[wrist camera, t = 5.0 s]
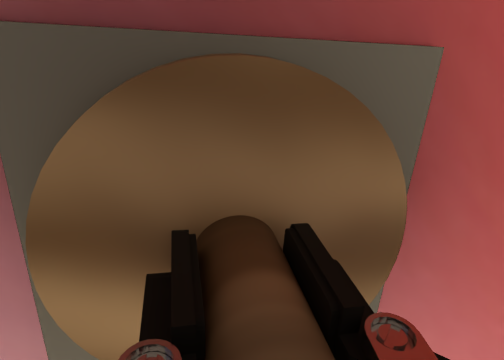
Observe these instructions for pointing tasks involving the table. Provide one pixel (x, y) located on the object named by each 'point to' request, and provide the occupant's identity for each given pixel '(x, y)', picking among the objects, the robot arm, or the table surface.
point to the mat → (162, 52)
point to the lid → (214, 203)
